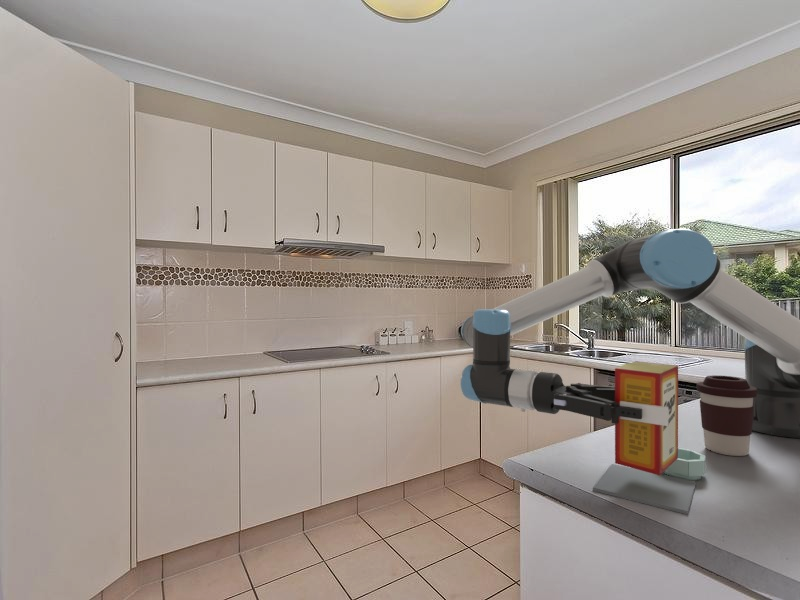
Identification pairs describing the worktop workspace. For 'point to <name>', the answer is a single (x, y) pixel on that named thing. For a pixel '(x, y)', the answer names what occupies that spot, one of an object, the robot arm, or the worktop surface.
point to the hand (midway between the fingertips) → (672, 409)
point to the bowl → (687, 465)
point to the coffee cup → (727, 414)
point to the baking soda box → (647, 441)
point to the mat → (647, 488)
